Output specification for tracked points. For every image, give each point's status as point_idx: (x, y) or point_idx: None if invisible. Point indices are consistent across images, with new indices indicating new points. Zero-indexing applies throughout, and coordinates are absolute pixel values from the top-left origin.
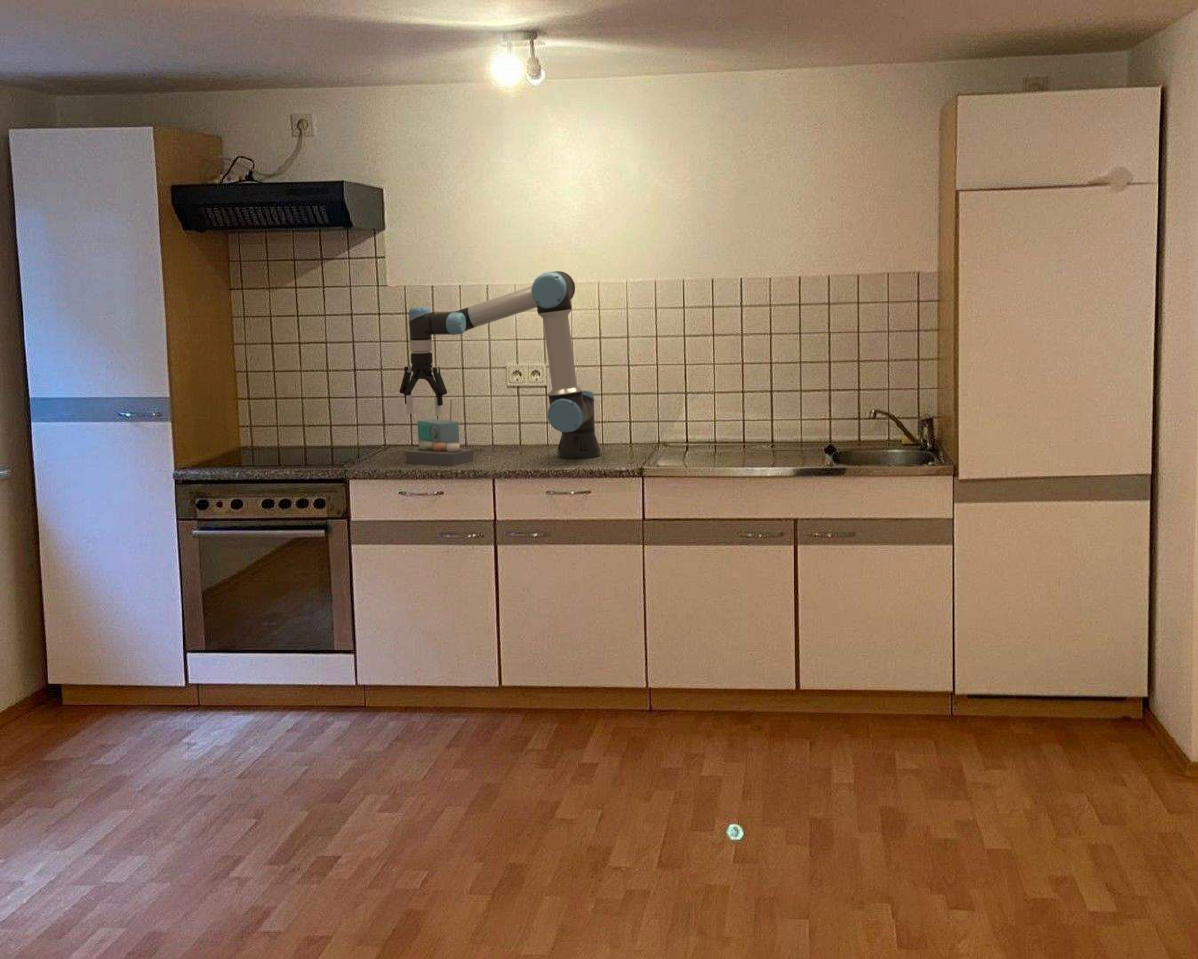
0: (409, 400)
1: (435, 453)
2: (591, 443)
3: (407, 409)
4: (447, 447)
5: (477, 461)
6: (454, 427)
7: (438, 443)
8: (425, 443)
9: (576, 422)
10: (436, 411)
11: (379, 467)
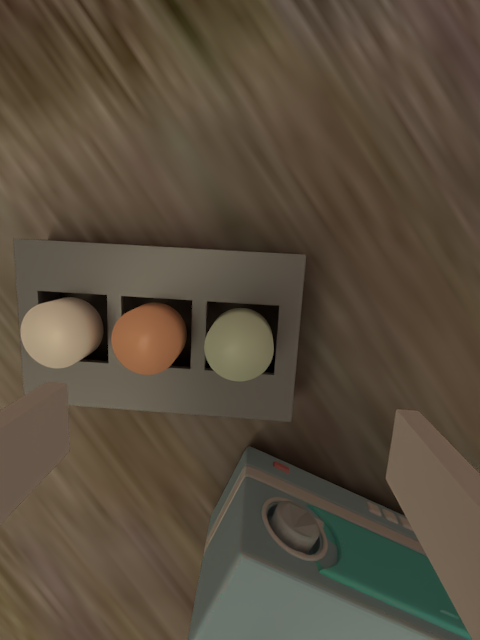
0: (469, 539)
1: (116, 244)
2: None
3: (429, 434)
4: (76, 305)
5: None
6: (201, 601)
7: (146, 337)
8: (219, 320)
9: None
10: (23, 397)
11: (350, 87)
